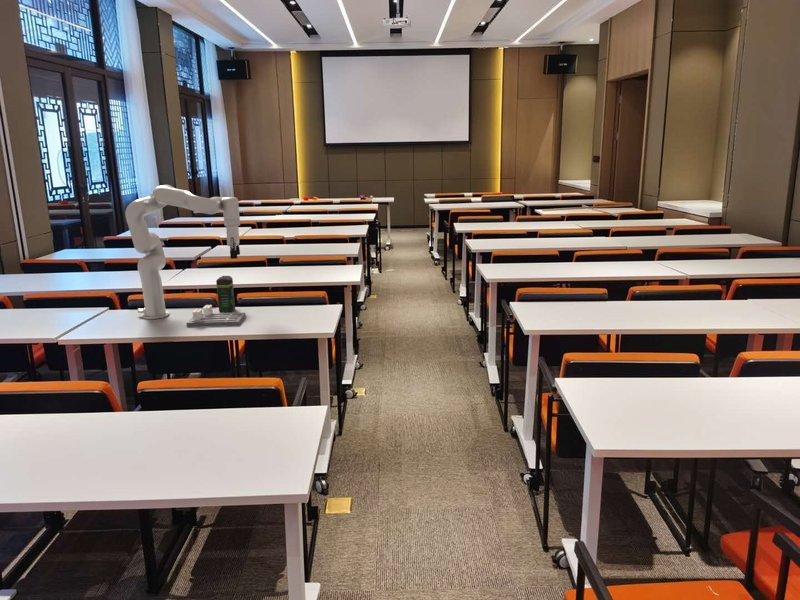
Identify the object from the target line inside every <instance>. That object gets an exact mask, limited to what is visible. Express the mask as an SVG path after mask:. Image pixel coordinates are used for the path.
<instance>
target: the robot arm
mask: <svg viewBox="0 0 800 600" xmlns="http://www.w3.org/2000/svg"><path fill="white" fill-rule="evenodd" d="M166 206H171V207H172V206H173V207H178V208H183V209H186V210H190V211H192V212H196V213H200V214H202V213H203V214H207V215H215V214H216V213H217V214H218V213H220V212H222V214H223V221H224V222H223V223H224V227H226V229H225V230H226V245H227V247H229V254H230V257H229V258H230V259H232V260H233V259H234V260H235V259H238V256H239V255H241V251H240V229H239V226H241V219H240V208H239V207H240V205H239V200H238V197H235V196H228V197H223V196H222V197H221V196H213V197H210V198H208V197H205V196H198V195H195V194H193V193H191V192H190V191H189V190H185V189H180V188H176V187H174V186H172V185H170V184H163V185H158V186H156V187H155V188H154V189H153V191H152V193H151V194H149V195H148V196H146V197H141V198H138V199H135V200H133V201H132V202H130V203H129V205H127V207H126V209H125V220H126V224H127V225H128V231H129V232H130V233H129V234H130V236H131V240H132V243H133V247H134V250H136V252H137V253H139V254H144V255H145V256H143V257H141V258H140V259H139V261H138V262H137V272H138V274H139V277H140V278H139V279H140V283H141V289H142V295H143V303H144V308H143V307H142V308H140V307H139V308H137V313H138V314H143V315H142V319H145V320H159V319H162V318H163V319H164V318H166V317H168V316H169V315H170V311H168V310H167V309H166V304H165V296H164V290H163V289H164V288H163V283H162V282H163V281H162V278H161V275H160V272H159V271H161V270H163V268H164V267H165V266H166V263H167V262H166V256H165V251H164V249H163V245H162V242H161V241H162V240H161V239H160V237H159V235H157V234H156V233H155V232H152V231H149V226H148V224H147V221H146V220H145V217H146V216H149V215H153V214H155V213H157V212H158V211H160V210H162V209H163V208H164V207H166Z"/></svg>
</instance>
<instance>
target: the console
mask: <svg viewBox="0 0 800 600" xmlns="http://www.w3.org/2000/svg"><path fill="white" fill-rule="evenodd" d="M202 308H203V309H202V315H203V317H202V318H201V319H200V320H193V316H192V317H191V318H190V319H189V320H188V321H187V322H186V323H185V324H186V328H191V327H193V328H194V327H195V328H196V327H198V328H199V327H228V326H229V327H230V326H231V327H234V326H235V327H236V326H240V325H241V323H242V322H243V320H244V319H245V318H246V315H247V314H246V312H228V313H222V312H217V313H216V312H213V305H212V304H206V305H204V306H203V307H202Z"/></svg>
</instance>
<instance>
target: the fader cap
mask: <svg viewBox="0 0 800 600" xmlns="http://www.w3.org/2000/svg"><path fill="white" fill-rule="evenodd" d="M202 314H203V309H202V308H195V309H194V310H193V311H192V317H193V320H200V319H201V318H202V317H203V315H202Z"/></svg>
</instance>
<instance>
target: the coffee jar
mask: <svg viewBox="0 0 800 600" xmlns="http://www.w3.org/2000/svg"><path fill="white" fill-rule="evenodd" d="M215 282H216V284H215V285H216V291H217V292H216V293H217V304H218V313H234V311H235V309H236V303H235V294H234V281H233V277H232V276H230V275H222V276H220V277H218V278H217V279H216V281H215Z"/></svg>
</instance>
